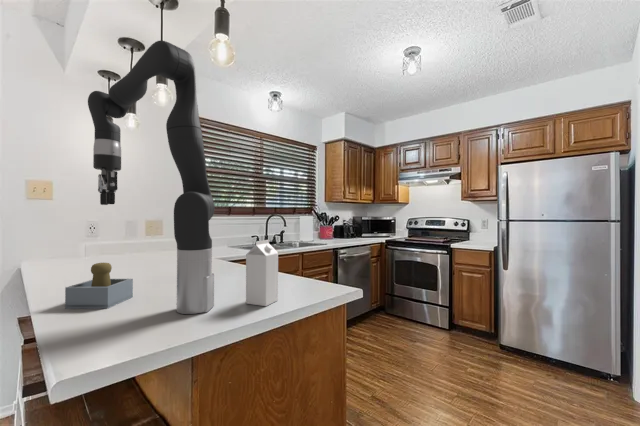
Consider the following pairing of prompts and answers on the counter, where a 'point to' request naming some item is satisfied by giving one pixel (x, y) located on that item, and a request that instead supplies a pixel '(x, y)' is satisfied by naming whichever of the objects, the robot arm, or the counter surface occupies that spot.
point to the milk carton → (262, 274)
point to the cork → (101, 274)
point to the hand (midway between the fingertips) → (107, 204)
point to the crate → (98, 294)
